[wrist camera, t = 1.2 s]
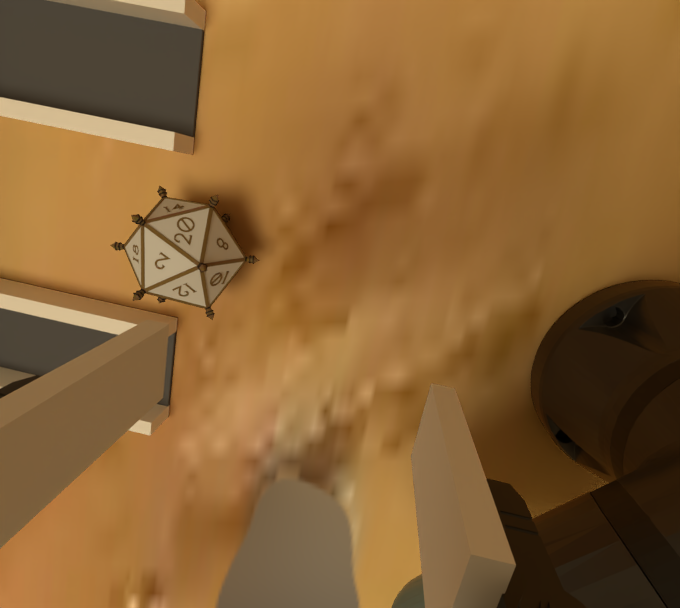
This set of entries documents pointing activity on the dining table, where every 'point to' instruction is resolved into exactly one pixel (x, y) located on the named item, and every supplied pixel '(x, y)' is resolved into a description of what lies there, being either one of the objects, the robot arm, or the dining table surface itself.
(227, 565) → the dining table surface
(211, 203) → the game die
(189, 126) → the pads
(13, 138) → the dining table surface
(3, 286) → the trap box
